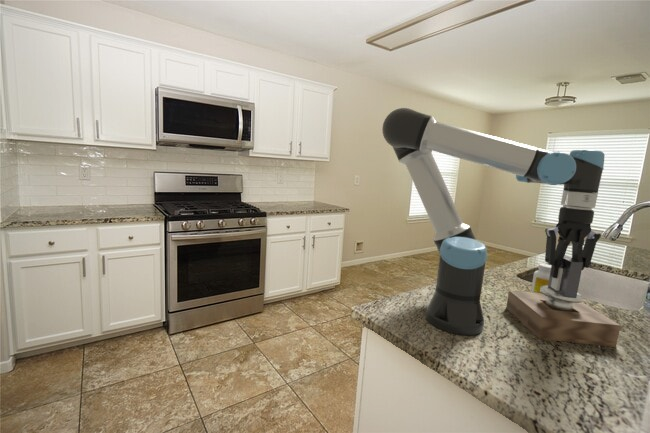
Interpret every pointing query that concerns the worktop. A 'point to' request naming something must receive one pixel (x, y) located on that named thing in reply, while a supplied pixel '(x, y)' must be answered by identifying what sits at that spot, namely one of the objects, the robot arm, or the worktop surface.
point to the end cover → (565, 287)
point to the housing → (562, 320)
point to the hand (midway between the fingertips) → (561, 289)
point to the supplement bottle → (540, 278)
